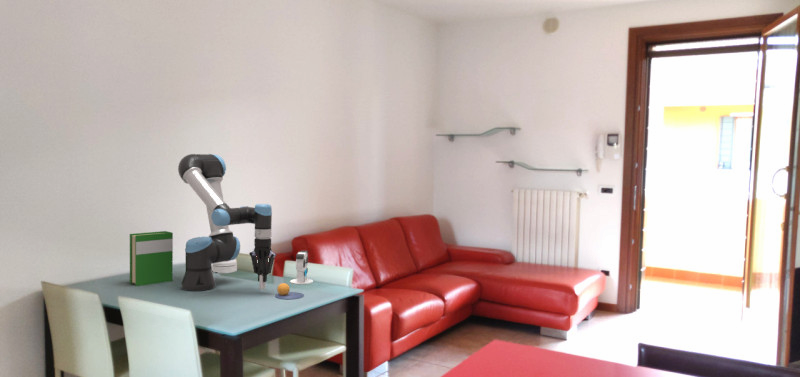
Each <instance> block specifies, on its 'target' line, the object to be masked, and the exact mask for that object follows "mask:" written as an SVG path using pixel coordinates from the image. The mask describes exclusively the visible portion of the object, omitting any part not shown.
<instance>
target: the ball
mask: <svg viewBox="0 0 800 377" xmlns="http://www.w3.org/2000/svg"><path fill="white" fill-rule="evenodd" d="M290 289H291V288H290V286H289V285H288V284H287V283H285V282H282V283H280V284H278V285H277V288H276V290H277V294H278V293H279V294H280V295H287V294H288V293H289V292H290Z"/></svg>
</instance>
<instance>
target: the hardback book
mask: <svg viewBox="0 0 800 377" xmlns="http://www.w3.org/2000/svg"><path fill="white" fill-rule="evenodd" d="M173 235H174V234H173V232H170V231H166V230H163V231H162V230H161V231H152V232H151V231H150V232H138V233H129V284H130V285H133V284H134V285H135V287H140V286H148V285H154V284H161V283H167V282H173V275H174V274H173V273H174V272H173V270H174V268H173V265H174V263H173V260H174V258H173V256H174V255H173V253H174V252H173V250H174V249H173V245H174V244H173V242H174V241H173V240H174V238H173V237H174V236H173Z"/></svg>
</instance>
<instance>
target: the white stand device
mask: <svg viewBox="0 0 800 377" xmlns="http://www.w3.org/2000/svg"><path fill="white" fill-rule="evenodd" d="M308 254H309V251H308V250H300V251H298V252H297V253H296V256H295V258H296V260H295V270H296V278H293V279H291V280H290V281H289V282H290V283H291V284H295V285H308V284H312V283H313V282H314V280H313V279H311V278H308V276H307V274H308V270H309V269H308V263H309V256H308Z"/></svg>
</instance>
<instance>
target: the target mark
mask: <svg viewBox="0 0 800 377" xmlns="http://www.w3.org/2000/svg"><path fill="white" fill-rule="evenodd" d="M274 297H275V298H276V299H279V300H297V299H301V298H304V297H305V294H304V293H302V292H298V291H297V292H296V291H289V293H288V294H287V295H280V294H279V293H278V292H277V293H275V295H274Z"/></svg>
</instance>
